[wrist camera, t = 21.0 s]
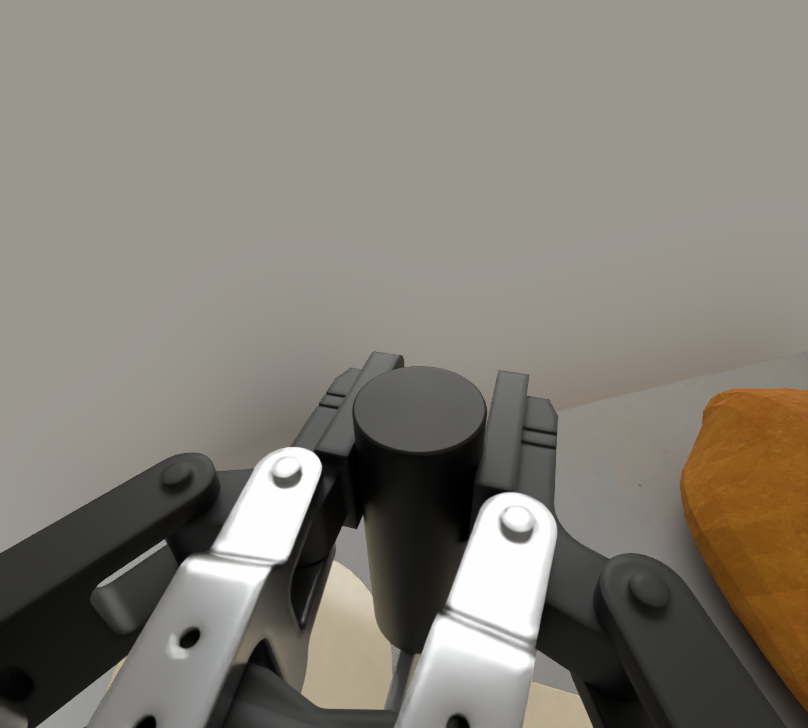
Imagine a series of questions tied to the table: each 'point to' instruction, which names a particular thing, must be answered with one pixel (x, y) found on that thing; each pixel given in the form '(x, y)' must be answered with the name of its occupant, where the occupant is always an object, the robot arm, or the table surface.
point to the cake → (344, 648)
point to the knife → (415, 498)
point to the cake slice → (554, 709)
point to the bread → (756, 518)
